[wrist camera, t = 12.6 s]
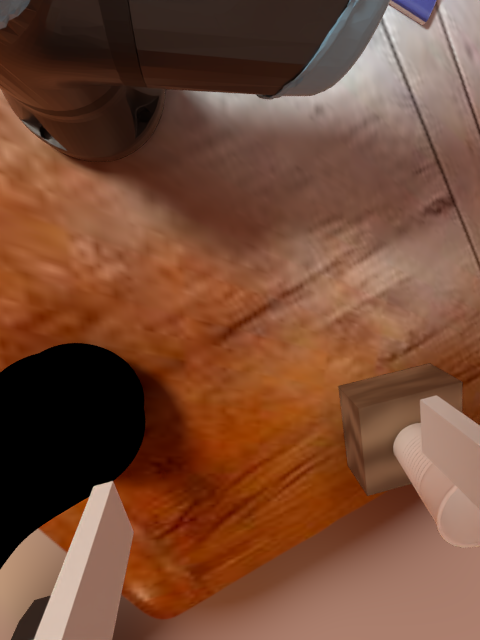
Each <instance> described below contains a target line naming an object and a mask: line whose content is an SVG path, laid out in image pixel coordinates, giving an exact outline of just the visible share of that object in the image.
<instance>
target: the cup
mask: <svg viewBox="0 0 480 640" xmlns="http://www.w3.org/2000/svg"><path fill="white" fill-rule="evenodd" d="M393 451H394V455H395V456H396V458H397V460H398V461H399V463H400V465H401V466H402V468H403V469H404V471H405V473H406V475H407V476H408V478H409V479H410V481H411V483H412V484H413V486H414V488H415V489H416V491H417V493H418V494H419V496H420V498H421V499H422V501H423V503H424V504H425V506H426V508H427V510H428V511H429V513H430V514H431V516H432V518H433V519H434V521H435V523H436V525H437V528H438V532H439V534H440V535H441V537H442V538H443V539H444V540H445V541H446V542H448V543H449V544H452V545H453V546H457V547H461V548H473V547H479V546H480V509H479V508H478V507H477V506H476V505H475V504H474V503H473V502H472V501H471V500H470V499H469V498H468V497H467V496H466V495H465V494H464V493H463V492H462V491H461V490H460V489H459V488H458V487H457V486H456V485H455V484H454V483H453V482H452V481H451V480H450V479H449V478H448V477H447V476H446V475H444V474H443V473H442V472H441V471H440V470H439V469H438V468H437V467H436V466H435V465H434V464H433V463H432V462H431V461H430V460H429V459H428V458H427V457H426V456H425V455H424V454H423V453H422V438H421V423H415V424H412V425H409V426H407V427H405V428H404V429H403V430H401V431H400V433H399V434H398V435H397V437H396V439H395V441H394V445H393Z"/></svg>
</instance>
